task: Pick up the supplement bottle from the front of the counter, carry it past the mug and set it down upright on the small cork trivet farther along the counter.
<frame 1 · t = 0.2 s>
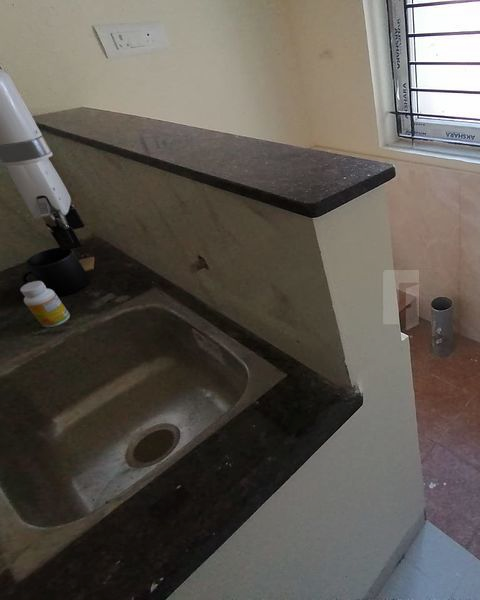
hand: (74, 237, 77), 20 cm above the table, tool pointing down, fingers open, 9 cm apart
supplement bottle: (57, 321, 89), on the table
mug: (63, 289, 99), on the table
cork trivet: (79, 267, 107), on the table
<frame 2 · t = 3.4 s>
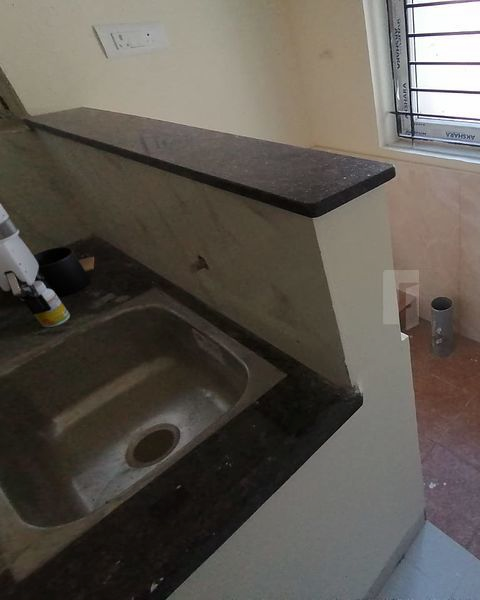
hand: (44, 303, 86), 5 cm above the table, tool pointing down, fingers closed on supplement bottle, 5 cm apart
supplement bottle: (57, 321, 89), on the table, touching gripper
everything else where it was.
when the fingers open (5 cm above the table, at t = 10.7 s): supplement bottle stays where it is, resting on cork trivet.
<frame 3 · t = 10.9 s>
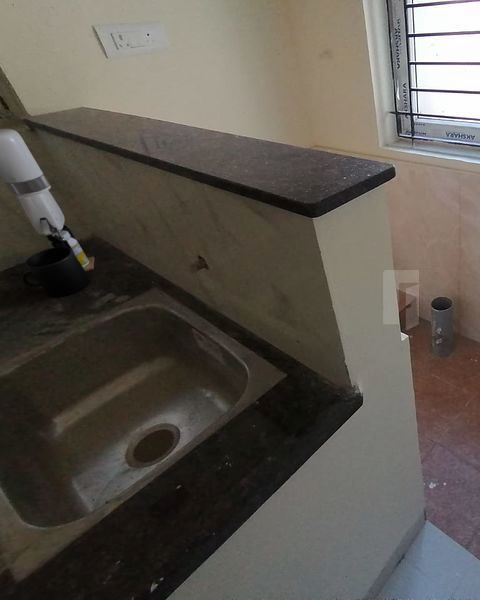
hand: (68, 248, 104), 6 cm above the table, tool pointing down, fingers open, 7 cm apart
supplement bottle: (78, 266, 107), resting on cork trivet
mug: (63, 288, 99), on the table, touching gripper
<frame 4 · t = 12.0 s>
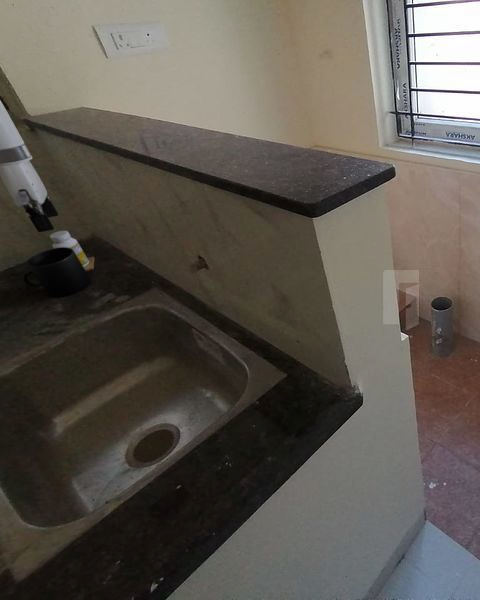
hand: (49, 223, 99), 14 cm above the table, tool pointing down, fingers open, 9 cm apart
mug: (64, 289, 99), on the table
everything else where it was.
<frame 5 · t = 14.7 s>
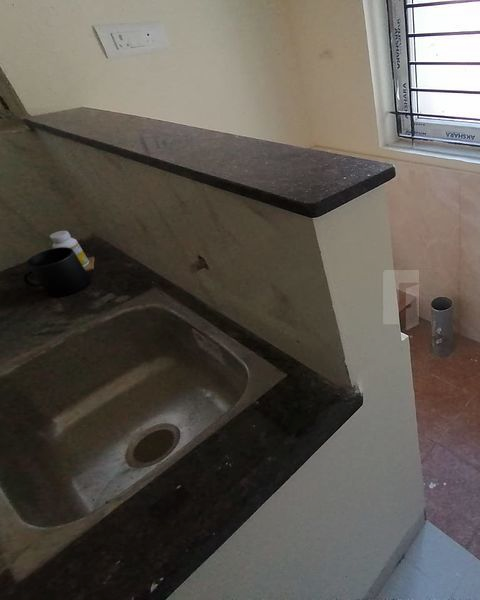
nothing on the table moved.
at the end: supplement bottle 0.0 cm off-centre on the cork trivet, point 0.4 cm above the cork trivet's base; supplement bottle tilted 0°; supplement bottle moved 25.2 cm from its start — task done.
